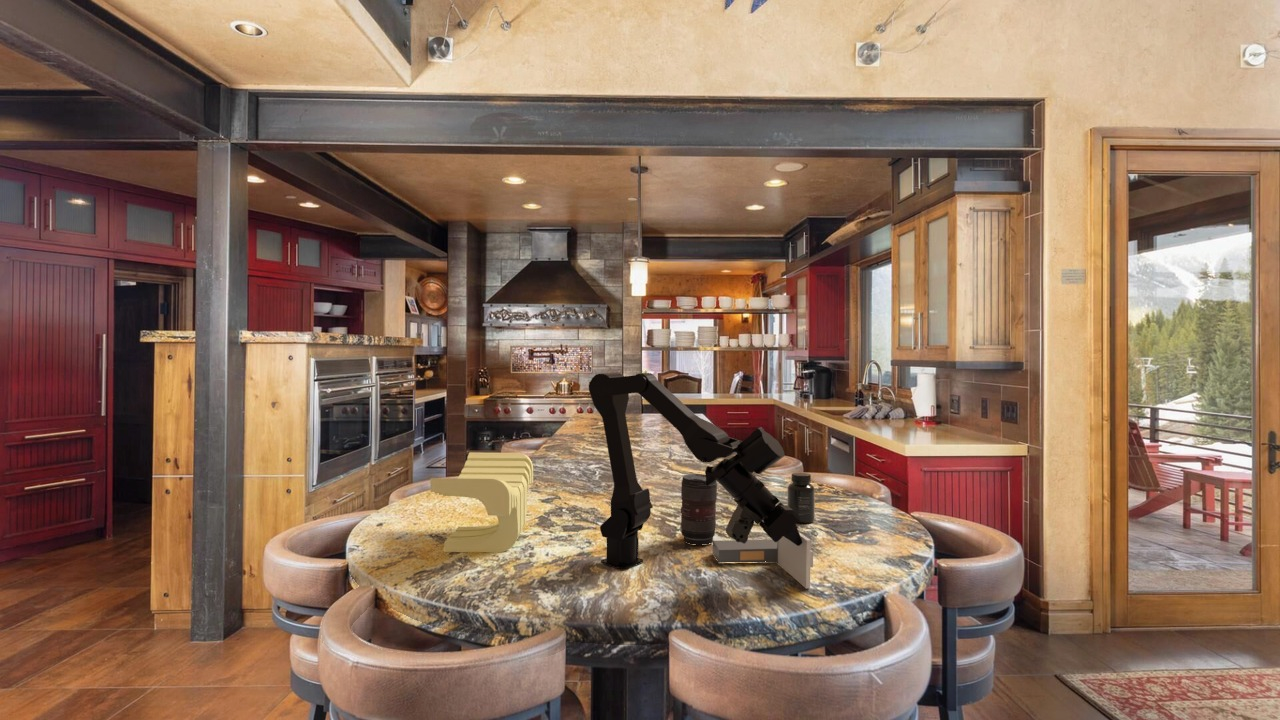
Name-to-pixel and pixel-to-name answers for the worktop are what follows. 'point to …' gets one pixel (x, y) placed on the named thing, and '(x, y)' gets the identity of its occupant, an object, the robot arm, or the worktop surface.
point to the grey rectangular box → (745, 551)
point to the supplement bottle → (802, 497)
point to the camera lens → (698, 509)
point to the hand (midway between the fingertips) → (799, 543)
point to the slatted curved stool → (490, 499)
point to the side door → (796, 559)
